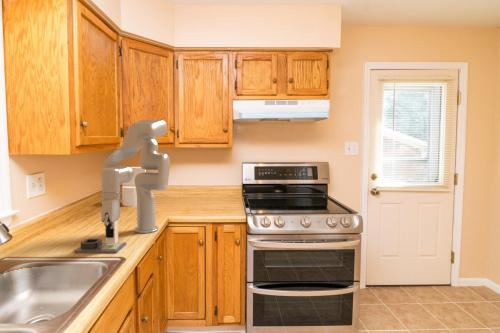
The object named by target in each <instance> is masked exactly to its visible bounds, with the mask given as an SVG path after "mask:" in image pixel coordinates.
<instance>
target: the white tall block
mask: <svg viewBox="0 0 500 333" xmlns="http://www.w3.org/2000/svg"><path fill="white" fill-rule="evenodd" d="M129 167H130V168H131V169H132V170H133V171H134V178H133V179H132V180H131V181H130V182H127V183H122V186H121V196H122V197H121V201H122V203H121V205H122V206H124V207H137V193H136V187H135V181H134V180H135V177H136V175H137V174H139V173H142V172H146V171H147V170H144V169H142V168H141V167H140V166H129Z"/></svg>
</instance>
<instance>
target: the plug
mask: <svg viewBox="0 0 500 333" xmlns="http://www.w3.org/2000/svg"><path fill="white" fill-rule="evenodd" d="M108 222H111V221H110V220H108ZM109 224H110V225H111V223H109ZM112 229H114V237H113V238H106V237H105V242H106V244H116V243H117V242H119V219H118V220H115V221H113V228H112ZM104 231H105V234H106V229H105V230H104Z"/></svg>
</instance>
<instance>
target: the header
mask: <svg viewBox="0 0 500 333" xmlns="http://www.w3.org/2000/svg"><path fill="white" fill-rule="evenodd" d="M102 240H103V239H102V238H87V239H86V238H85V239H84V240H83V241H80V247H78V248H76V249H75V250H74V254H117V253H119V252H120V251H121V250H122V249H123V248H124V247H126V246H127V242H126V241H125V242H121V241H120V242H119V241H118V242H117V243H116V244H106V241H105V242H103V241H102Z"/></svg>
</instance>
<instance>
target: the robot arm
mask: <svg viewBox="0 0 500 333" xmlns="http://www.w3.org/2000/svg"><path fill="white" fill-rule="evenodd" d="M167 132H168V123H167V122H166V120H163V119H140V120H137V121H136V122H132V123H130V125H129V126H128V128H127V131H126V133H125V135H124V138H123V141H122V143H121V146H119V147H118V148H116V149H115V150H114V151H113V152H112V153H111V154H109V155H108V156H107V158H106V159H105V161H104V163H103V167H102V169H101V200H102V202H101V208H100V209H101V210H100V211H101V212H100V220H101V223H103V225H104V228H105V229H106V233H105V239H106V238H113V237H114V229H112V228H113V221H115V220H118V221H119V218H120V216H121V206H120V205H121V204H120V199H121V183H122V184H123V183H127V182H130V181H131V180H132V179H133V178H134V171H133V170H132V169H131V168H130V167H131V166H123V165H122V166H121V165H119V163H121V162H122V161H124V160H126V159H129V158H131V157H135V156H136V155H138V154H139V153H140V158H139V159H140V160H139V167H141V168H142V169H144V170H146V171H147V172H142V173H139V174H137V175H136V177H135V180H134V181H135V187H136V193H137V206H136V226H137V227H134V232H135V233H140V234H149V233H155V232H157V231H159V226H157V225H156V197H155V194H154V192H153V191H160V192H161V191H162V192H163V191H165V190H166V189H167V188H168V184H169V176H170V167H171V161H170V160H171V159H170V157H169V155H168V154H167V153H165V152H164V153H163V152H158V150H159V144H158V141H157V140H156V139H158V138H161V137H163V136H165V135H166V134H167ZM140 150H141V152H140ZM148 171H151V172H148ZM152 171H158V172H152ZM108 220H110V221H111V222H108ZM109 223H111V225H110V224H109Z"/></svg>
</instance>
